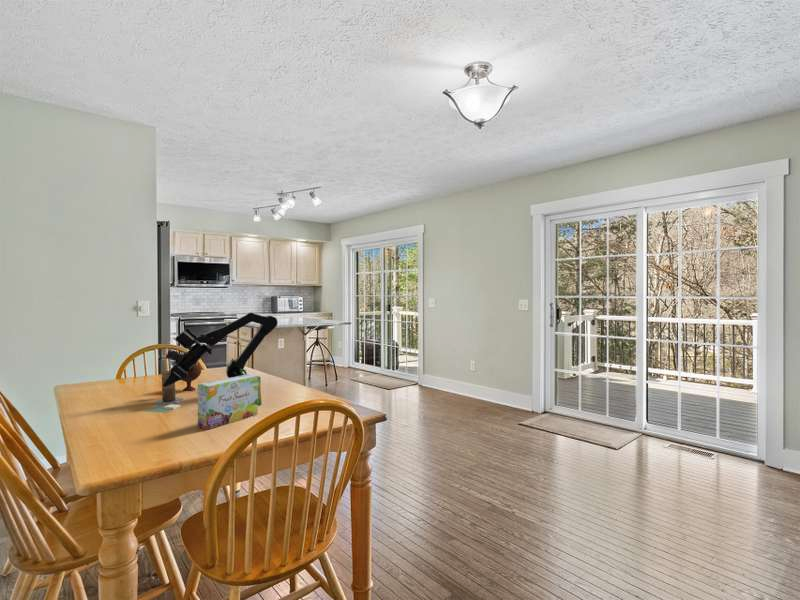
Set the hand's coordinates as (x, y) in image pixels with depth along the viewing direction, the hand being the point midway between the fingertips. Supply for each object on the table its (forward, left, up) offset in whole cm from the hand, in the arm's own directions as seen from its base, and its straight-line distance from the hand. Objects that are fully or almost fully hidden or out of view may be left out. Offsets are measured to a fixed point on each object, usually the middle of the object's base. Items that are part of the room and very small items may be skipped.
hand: (164, 383), depth 180 cm
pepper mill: (-1, -1, -7) cm, 7 cm away
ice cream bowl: (+5, -21, -8) cm, 23 cm away
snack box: (-41, +17, -8) cm, 45 cm away
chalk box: (-35, -3, -8) cm, 36 cm away
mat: (-7, +10, -8) cm, 14 cm away
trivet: (-1, -1, -8) cm, 8 cm away
